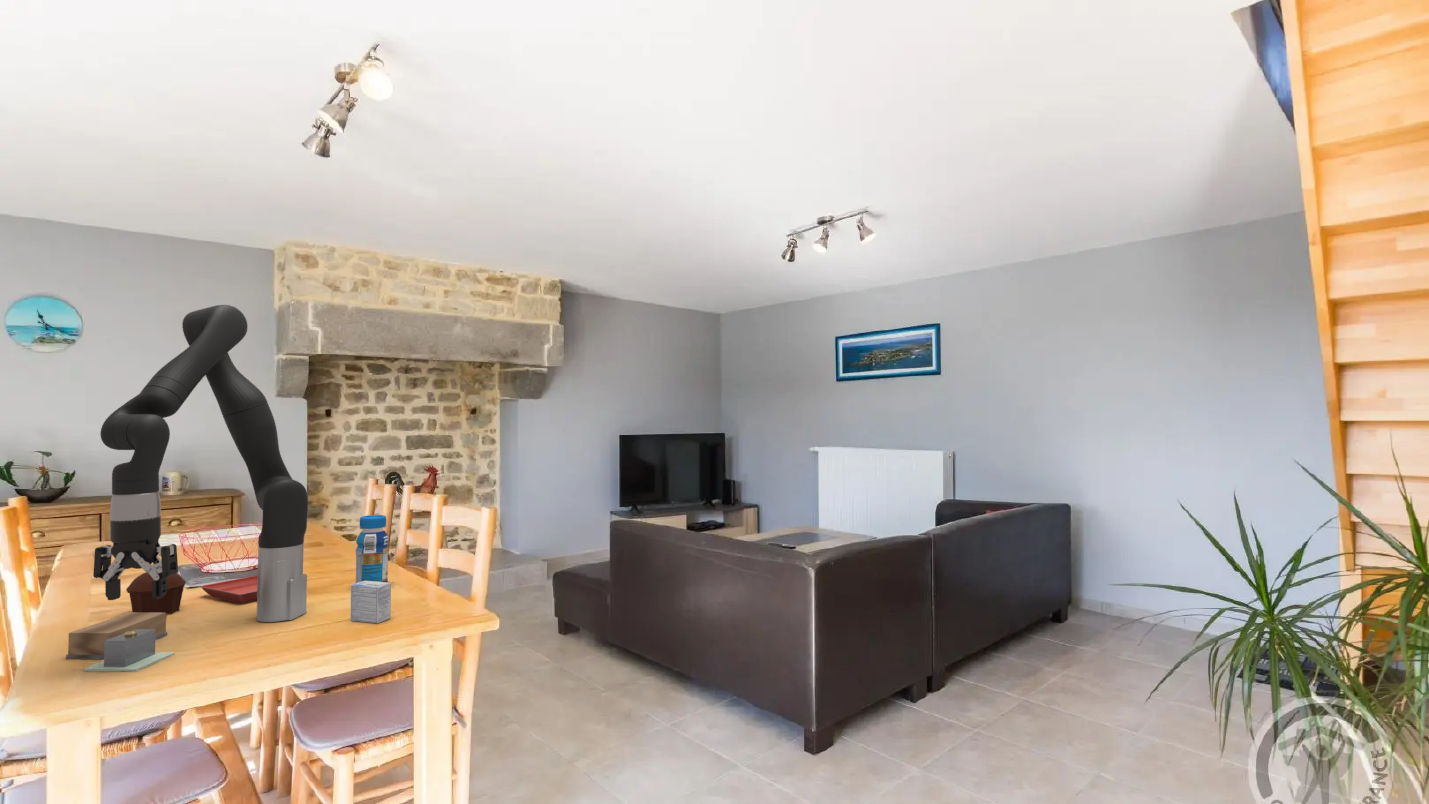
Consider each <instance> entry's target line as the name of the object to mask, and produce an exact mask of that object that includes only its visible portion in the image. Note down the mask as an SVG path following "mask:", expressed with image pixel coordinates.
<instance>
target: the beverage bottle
mask: <svg viewBox="0 0 1429 804" xmlns="http://www.w3.org/2000/svg"><path fill="white" fill-rule="evenodd" d="M386 527H387V515H384V514H370V515H362V516H361V517H359V530H361V531H360V533H359V534H358V536H357V537H356V541H355V542H356V545H357V547H356V549H355V583H358V582H362V581H376V582H386V583H389V580H388V578H389V574H388V573H389V553H390V546H389V544H388V543H389V541H390V539H389V536H388V534H387V532H386V531H385V528H386Z"/></svg>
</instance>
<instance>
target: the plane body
mask: <svg viewBox="0 0 1429 804" xmlns="http://www.w3.org/2000/svg"><path fill="white" fill-rule="evenodd" d="M134 629H156V640H155V641H157V640H159V639H161V638H164V637H166V636H168V631H167V615H166V613H155V612H130V611H129V612H127V613H123V614H120V615H117V616H114V617H111V618H109V619H106V620H103V621H100V622H97V623H94V624H92V625H87V626H85V627H82V628H79V629H75V630H73V631H71V632H68V644H67V647H68V648H67V649H68V650H67V651H68V653H67V654H66V655H65V659H66V660H69V659H70V660H74V659H75V660H80V659H82V660H87V659H88V660H102V659H103V660H104V641H105V640H108V639H110V638H113V637H116V636H118V635H121V634H124V633H125V632H127V631H131V630H134Z"/></svg>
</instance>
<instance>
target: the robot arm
mask: <svg viewBox="0 0 1429 804" xmlns="http://www.w3.org/2000/svg"><path fill="white" fill-rule="evenodd" d="M181 326H182V332H183V336H184V338H185V339H186V342H187V344H188V347H187V348H185V349H184V350H183V351H181V352H180V353H179V354H178V355H176V356H175V357H174V358H172V359H171V360H169V362H167V363H166V364H165V365H163V366H162V367H161V368H160V369H159V370H158V371H156V373H155V374H154V375H153V376H152V377H151V378H150V379H149V381H148V382H147V384H146V385H145V386H144V387H143V388H142V390H141V391H140V392H139V393H138V394H137V395H136V396H134V397H133V398H131V399H129V400H128V401H126V402H125V403H124V404H122V405H121V406H120V407H118V408H116V409H115V410H114V411H113V412H112V413H110V415H108V417H107V418H105V420H104V422H103V423H102V426H101V428H100V440H101V442H102V443H103V445H105V446H106V447H108V448H109V449H112V450H116V451H133V454H132V457H131V459H130V460H129V461H128V462H123V463H119V464H117V465H115V466H114V467H113V469H112V472H111V500H110V506H109V507H110V509H109V510H110V511H109V512H110V516H109V517H110V518H109V519H110V520H109V521H110V522H109V523H110V526H109V528H110V530H109V531H110V532H109V533H110V535H109V537H110V539H109V541H110V542H111V543H112V545H110V544H106V545H102V546H99V547H95V550H94V556H93V557H94V558H93V574H92V575H93V578H94V579H102V580H103V581H104V582H105V586H104V587H105V597H106V598H107V601H116V600H118V599H120V597H121V596H122V595H121V593H122V592H121V591H122V589H121V588H122V587H121V586H122V585H121V583H122V581H121V578H120V576H121V575H122V574H123V573H124V571H126V570H128V569H129V570H130V569H136V570H137V569H138V570H139V569H140V570H141V569H142V570H143V571H144V573H146V572H148V573H149V574H150V575H151V577H152V578H153V579H154V581H152V598H153V599H160V598H163V597H164V596H165V594H166V593H167V578H168V577H169V576H171V575H174V574H179V566H178V565H179V563H178V549H177V545H176V543H172V544H167V545H160V542H159V540H160V538H161V536H162V517H161V516H162V515H161V514H162V505H161V503H162V502H161V497H160V469H161V466H162V464H163V460H164V456H165V453H166V451H167V448H168V445H169V441H170V436H171V433H170V432H171V431H170V426H169V425H168V422H167V421H166V419H165V418H168V417H171V416H173V415H175V414H176V413H177V412H178V411H179V409H180V408H181V407H182V406H183V404H184V403H185V402H186V400H187V399H188V397H189V396H190V395H191V394H192V392H193V391H194V390H195V388H196V387H197V385H198V384H199V383H200V382H201V381H202V380H203V379H204V377H206V379H207V382H208V384H209V386H210V389H211V390H212V392H213V396H214V397H215V399H216V401H217V404H218V407H219V410H220V413H221V415H222V418H223V421H224V422H225V425H226V427H227V430H228V431H229V435H231V436H230V437H232V440H233V442H234V444H235V446H236V448H237V451H238V452H239V454H240V456H241V457H242V459H243V461H244V464H245V466H246V468H247V471H248V474H249V478H250V481H251V484H252V488H253V491H254V495H255V498H256V499H255V500H256V503H257V505H258V507H259V508H260V509H261V510H262V520H261V521H262V523H261V524H262V525H261V532H260V534H259V535H258V540H257V541H258V542H257V543H258V545H257V546H258V548H257V549H258V550H257V552H258V553H257V575H258V580H257V600H256V621H258V622H262V623H275V622H283V621H292V620H294V619H296V618H299V617H300V616H303V615H304V614H307V598H308V597H307V593H308V592H307V591H308V588H307V587H308V583H307V582H308V581H307V580H308V574H306V573H304V549H305V548H304V547H305V546H304V545H305V543H304V542H305V534H306V532H307V528H308V527H307V526H308V513H309V512H308V510H309V499H308V498H309V496H308V492H307V488H306V487H305V486H304V485H303V483H301V482H300V481H299V480H298V481H297V480H295V479H293V478H292V476H291V474H290V473H289V470H288V468H287V467H286V465H285V462H284V460H283V457H282V455H281V450H280V447H279V445H280V444H279V437H278V431H277V425H276V420H275V418H274V415H273V412H272V409H271V408H270V406H269V405H270V404H269V403H268V400H267V397H266V396H265V394H264V393H263V392H262V391H261V389H259V388H258V387H257V386H256V385H255V384H254V383H253V382H252V381H250V380H249V379H248V378H246V377H245V376H244V374H242V373H241V372H240V371H239V370H238V368H237V367H236V366H235V364H234V362H233V360H232V358H231V356H230V354H229V352H230V351H231V350H232V349H233V348H234V347H236V346H237V345H238V344H239V343H240V342H241V341H243V339H244V338H245V337H246V335H247V332H248V321H247V318H246V317H245V314H244V313H243V312H242V311H241V310H240V309H238V308H237V307H236V306H232V305H230V304H218V305H216V304H215V305H213V306H210V307H209V306H208V307H206V308H201V309H197V310H194V311H191V312H189V313H187V314H185V316H184V317H183V320H182V325H181ZM112 556H113V558H114V560H113V561H112ZM160 557H161V558H160Z"/></svg>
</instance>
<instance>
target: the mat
mask: <svg viewBox="0 0 1429 804" xmlns="http://www.w3.org/2000/svg"><path fill="white" fill-rule="evenodd" d="M174 655H175V652H168V651H167V652H160V651H158V652H156V651H155V654H154V655H152V656H150V657H148V658H145V659H143V660H141V661H138V662H136V663H134V664H131V665H129V666H127V667H104V660H101V661H99V662H97V663H95V664H92V665H90V666H86V667H84V668H83V669H82V671H83V672H138V671H141V670H143V669H145V668H147V667H149V666H152V665H154V664H157V663H159V662H161V661H164V660H165V659H168V658H170V657H172V656H174Z"/></svg>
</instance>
